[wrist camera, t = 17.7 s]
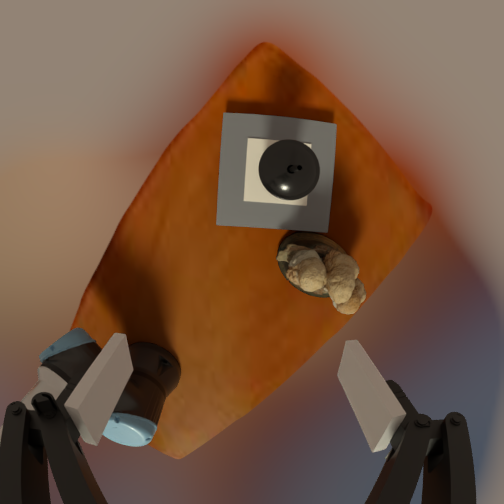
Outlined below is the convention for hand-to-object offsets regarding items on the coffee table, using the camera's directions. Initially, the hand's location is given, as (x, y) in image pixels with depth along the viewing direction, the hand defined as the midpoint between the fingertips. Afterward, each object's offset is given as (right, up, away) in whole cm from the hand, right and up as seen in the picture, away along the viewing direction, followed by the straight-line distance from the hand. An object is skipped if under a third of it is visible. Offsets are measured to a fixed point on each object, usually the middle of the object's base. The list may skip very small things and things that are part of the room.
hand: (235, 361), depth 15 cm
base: (+5, +21, +34) cm, 40 cm away
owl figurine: (+13, +4, +39) cm, 41 cm away
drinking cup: (+5, +20, +31) cm, 37 cm away
